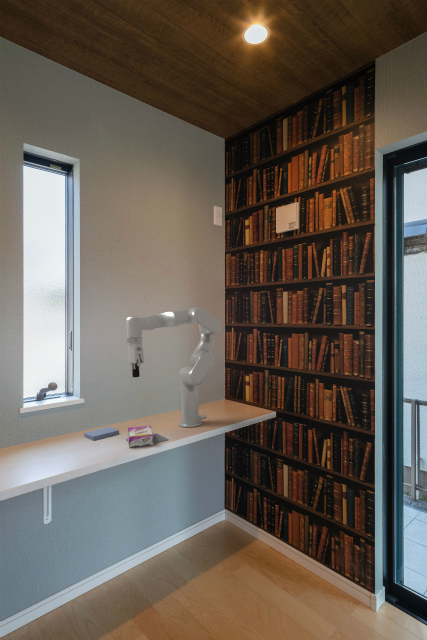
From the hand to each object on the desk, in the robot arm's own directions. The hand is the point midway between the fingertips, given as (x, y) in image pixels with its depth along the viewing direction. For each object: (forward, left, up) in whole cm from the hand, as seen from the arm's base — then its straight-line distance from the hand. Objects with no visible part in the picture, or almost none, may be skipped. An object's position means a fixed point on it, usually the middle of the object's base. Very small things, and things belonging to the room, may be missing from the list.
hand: (136, 376), depth 187 cm
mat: (0, +12, -29) cm, 31 cm away
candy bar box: (+1, +4, -26) cm, 26 cm away
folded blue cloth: (+15, -10, -30) cm, 35 cm away
